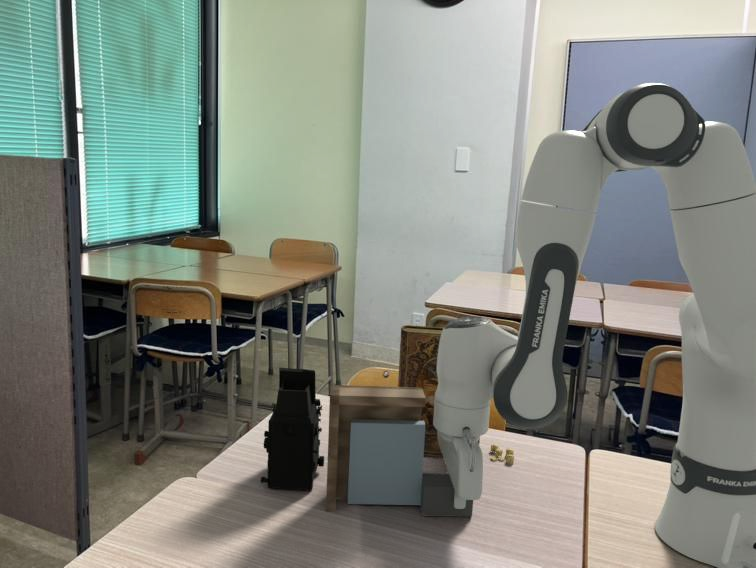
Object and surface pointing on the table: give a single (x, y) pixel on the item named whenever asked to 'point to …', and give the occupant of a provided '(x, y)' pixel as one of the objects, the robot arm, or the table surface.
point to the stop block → (440, 497)
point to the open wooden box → (362, 406)
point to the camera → (294, 432)
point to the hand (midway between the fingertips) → (455, 496)
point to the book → (422, 375)
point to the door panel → (386, 462)
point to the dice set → (499, 453)
